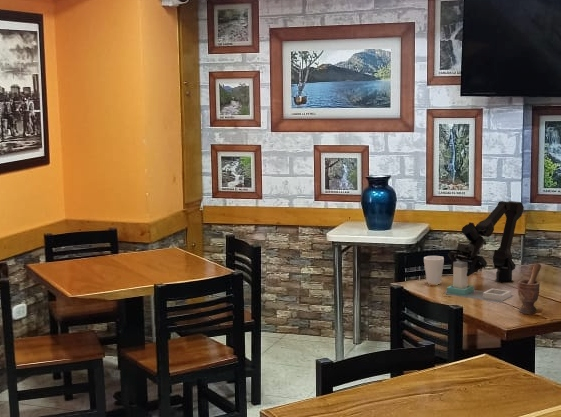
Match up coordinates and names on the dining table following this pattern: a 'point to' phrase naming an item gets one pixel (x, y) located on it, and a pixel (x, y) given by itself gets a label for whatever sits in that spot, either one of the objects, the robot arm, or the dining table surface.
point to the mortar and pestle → (529, 291)
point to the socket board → (480, 293)
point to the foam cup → (433, 268)
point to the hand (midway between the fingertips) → (459, 274)
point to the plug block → (460, 274)
